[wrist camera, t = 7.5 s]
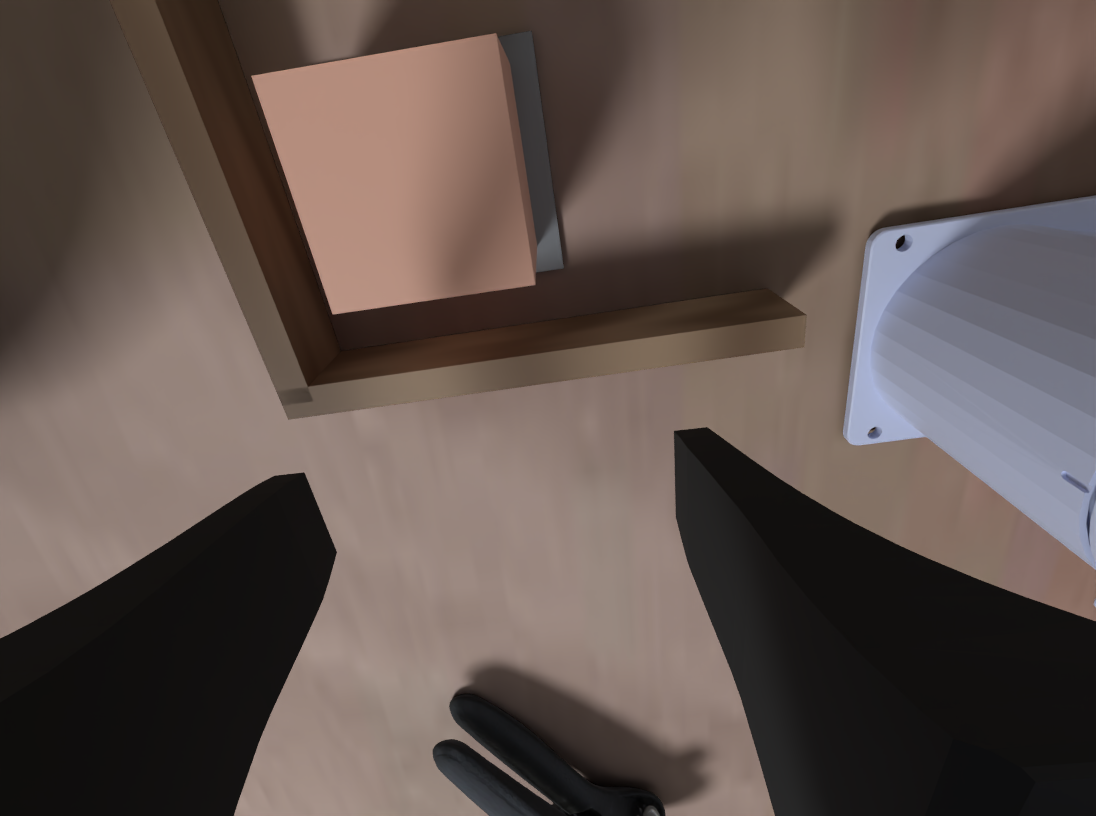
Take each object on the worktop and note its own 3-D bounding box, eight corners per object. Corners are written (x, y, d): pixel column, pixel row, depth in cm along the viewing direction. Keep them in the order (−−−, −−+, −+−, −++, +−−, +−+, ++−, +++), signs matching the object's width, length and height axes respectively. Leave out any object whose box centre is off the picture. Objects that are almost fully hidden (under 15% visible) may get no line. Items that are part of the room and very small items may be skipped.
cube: (510, 64, 15) (496, 33, 10) (537, 246, 17) (535, 285, 13) (337, 93, 15) (250, 75, 11) (386, 268, 17) (332, 314, 13)
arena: (803, -619, 10) (899, -892, 7) (766, 316, 18) (803, 347, 16) (19, -424, 11) (-149, -603, 8) (323, 380, 19) (288, 419, 17)
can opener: (692, 802, 33) (719, 921, 28) (603, 840, 35) (613, 957, 30) (502, 656, 27) (493, 775, 22) (407, 712, 29) (378, 833, 24)
